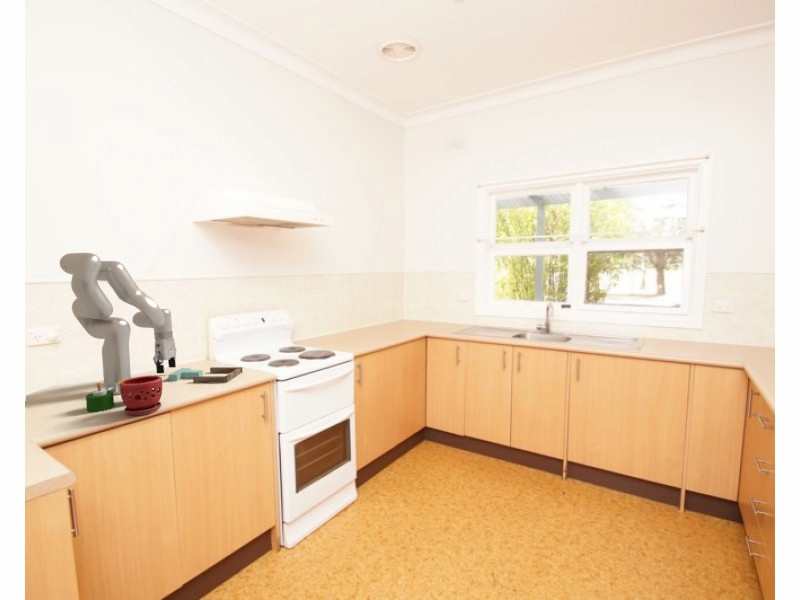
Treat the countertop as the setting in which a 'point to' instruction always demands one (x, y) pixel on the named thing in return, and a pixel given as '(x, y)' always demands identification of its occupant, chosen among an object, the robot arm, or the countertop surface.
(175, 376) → the teal T-block
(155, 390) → the plant pot
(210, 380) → the walnut bay
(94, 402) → the candle
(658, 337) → the countertop surface
